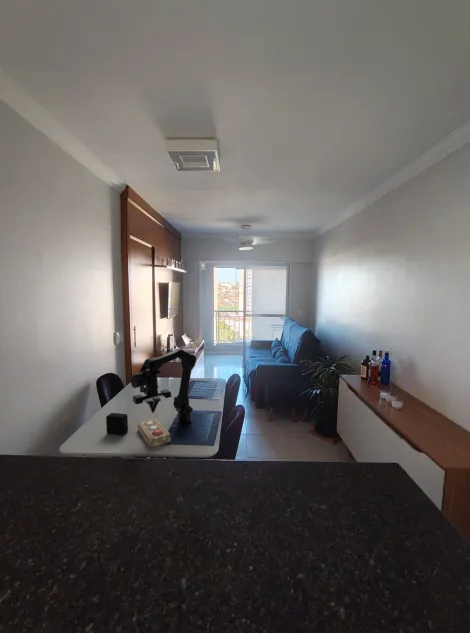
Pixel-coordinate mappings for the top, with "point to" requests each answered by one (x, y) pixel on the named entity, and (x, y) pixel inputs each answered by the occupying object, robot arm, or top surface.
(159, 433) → the red plug
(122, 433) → the electronic device
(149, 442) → the beech block
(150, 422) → the plug
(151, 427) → the plug
